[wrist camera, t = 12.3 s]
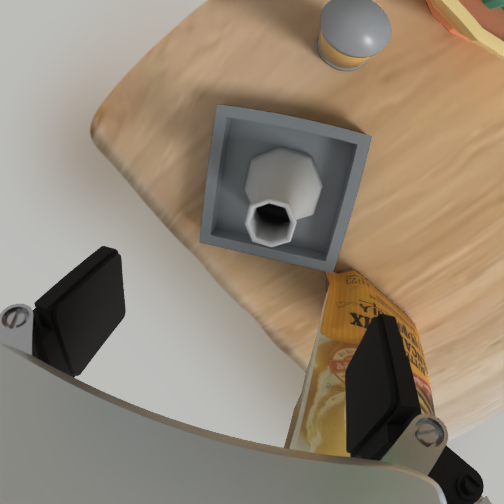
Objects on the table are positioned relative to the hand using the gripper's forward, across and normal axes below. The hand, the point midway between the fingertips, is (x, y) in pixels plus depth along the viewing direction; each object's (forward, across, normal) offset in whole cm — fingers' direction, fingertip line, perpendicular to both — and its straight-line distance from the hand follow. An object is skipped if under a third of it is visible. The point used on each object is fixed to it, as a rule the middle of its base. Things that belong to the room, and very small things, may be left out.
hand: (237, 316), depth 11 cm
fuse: (+20, -3, -14) cm, 24 cm away
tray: (+20, 0, 0) cm, 20 cm away
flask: (+19, 0, 0) cm, 19 cm away
